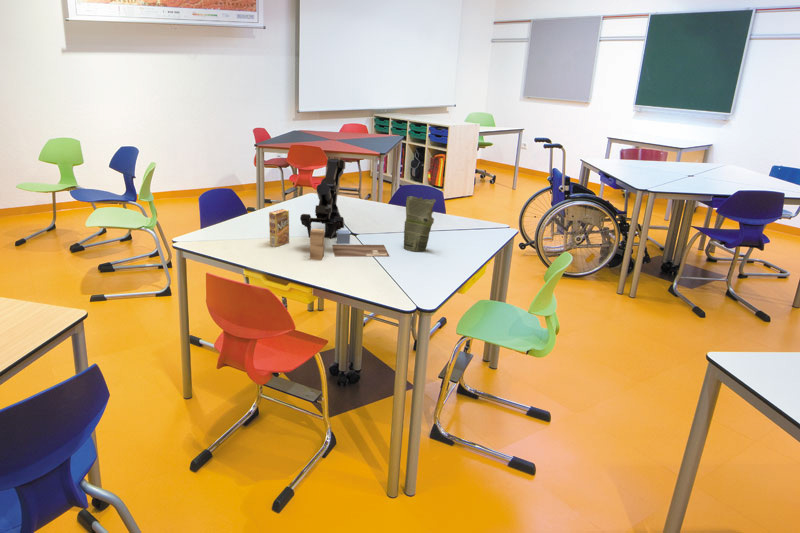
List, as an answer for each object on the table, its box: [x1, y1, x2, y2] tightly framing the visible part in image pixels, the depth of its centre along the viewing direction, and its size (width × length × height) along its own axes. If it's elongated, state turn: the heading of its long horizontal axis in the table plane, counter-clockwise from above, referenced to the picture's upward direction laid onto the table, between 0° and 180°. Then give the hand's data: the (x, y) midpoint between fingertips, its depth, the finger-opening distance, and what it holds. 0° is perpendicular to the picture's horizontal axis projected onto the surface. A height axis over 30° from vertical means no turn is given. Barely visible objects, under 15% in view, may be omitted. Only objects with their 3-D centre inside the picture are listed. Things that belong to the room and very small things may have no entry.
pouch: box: [403, 195, 437, 253], centre depth 255 cm, size 11×12×25 cm
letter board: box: [331, 244, 391, 258], centre depth 251 cm, size 17×24×1 cm
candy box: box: [268, 208, 290, 248], centre depth 252 cm, size 9×4×15 cm, turn 150°
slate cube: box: [336, 229, 351, 245], centre depth 261 cm, size 6×6×6 cm
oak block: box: [309, 228, 325, 261], centre depth 238 cm, size 5×5×12 cm
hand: (319, 238), depth 243 cm, fingers open, 9 cm apart
